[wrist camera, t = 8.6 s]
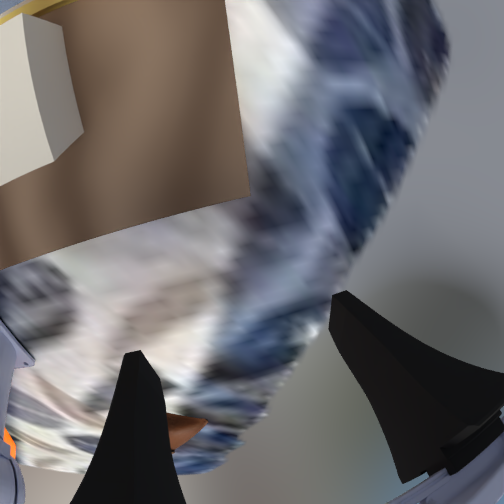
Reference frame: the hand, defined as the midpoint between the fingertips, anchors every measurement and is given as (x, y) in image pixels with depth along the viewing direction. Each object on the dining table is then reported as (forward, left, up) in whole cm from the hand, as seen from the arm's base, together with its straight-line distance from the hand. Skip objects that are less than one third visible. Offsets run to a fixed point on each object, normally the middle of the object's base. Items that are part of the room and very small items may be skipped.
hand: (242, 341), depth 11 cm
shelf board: (-6, +8, -9) cm, 14 cm away
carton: (-7, +10, -9) cm, 15 cm away
